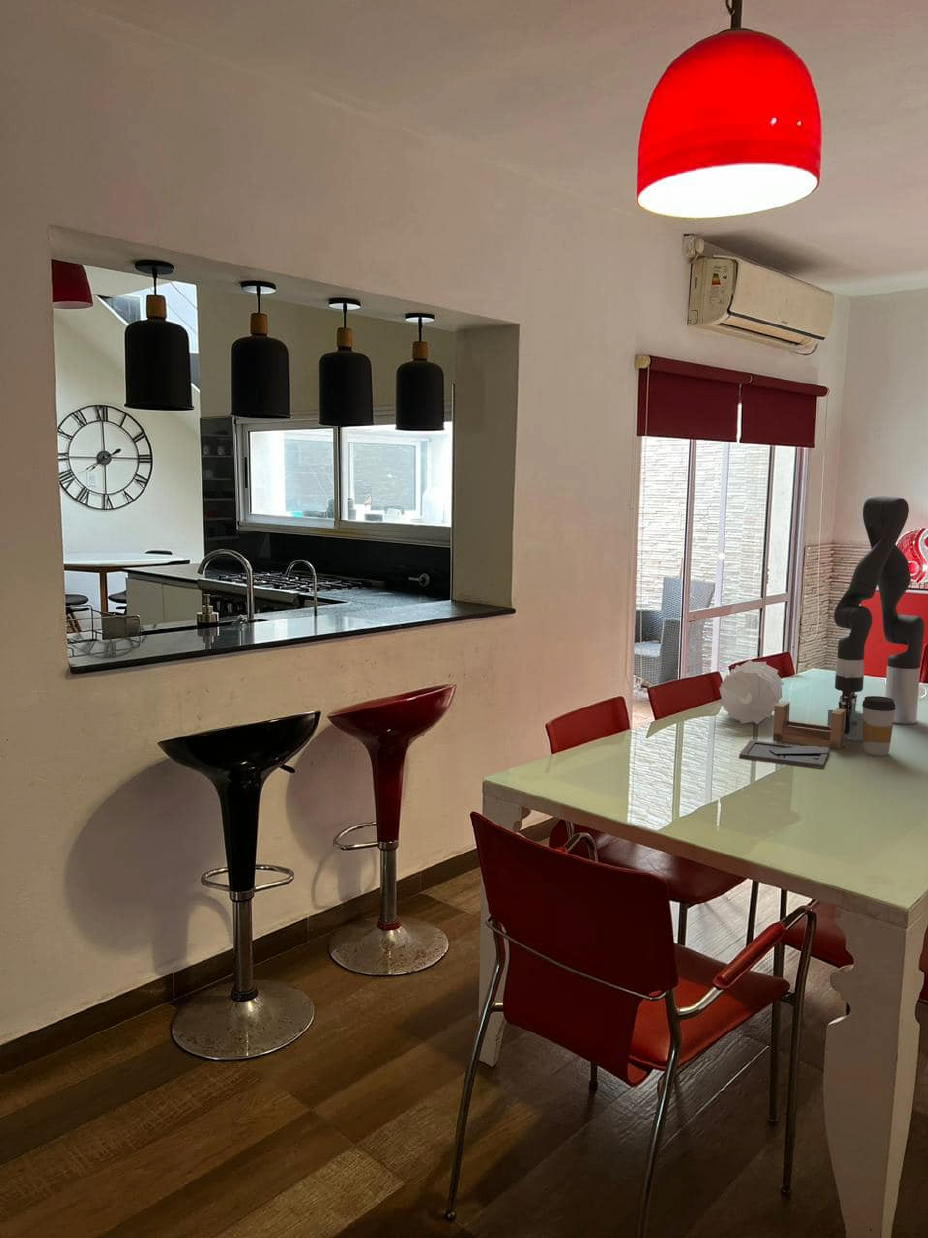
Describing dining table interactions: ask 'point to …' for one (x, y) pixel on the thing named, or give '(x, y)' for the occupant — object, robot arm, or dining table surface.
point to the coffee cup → (877, 724)
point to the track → (809, 728)
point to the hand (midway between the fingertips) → (846, 731)
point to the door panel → (852, 724)
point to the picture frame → (786, 753)
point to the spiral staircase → (751, 691)
